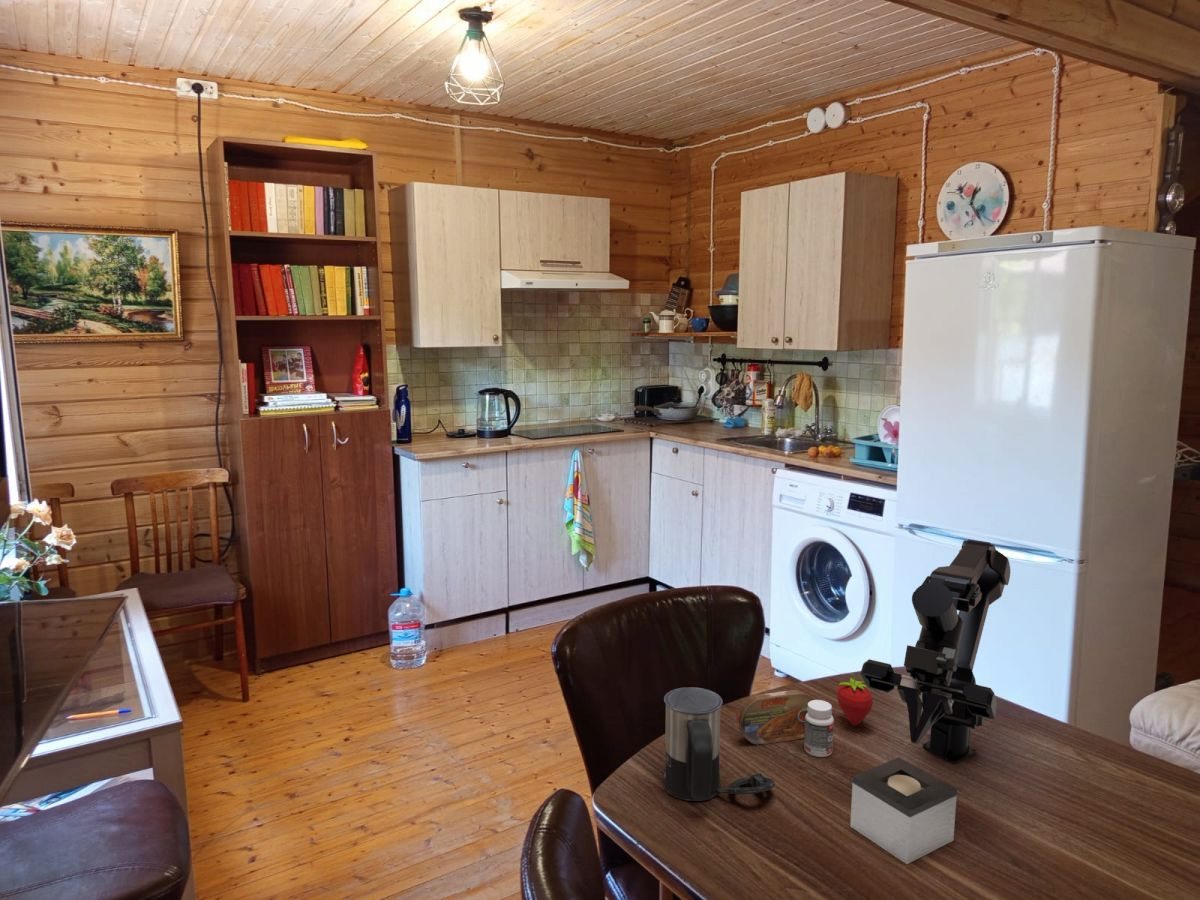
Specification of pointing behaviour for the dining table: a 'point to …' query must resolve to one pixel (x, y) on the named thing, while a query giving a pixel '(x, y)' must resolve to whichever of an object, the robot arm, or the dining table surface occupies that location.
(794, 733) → the tin
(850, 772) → the dining table surface
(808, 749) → the pill bottle
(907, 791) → the peg
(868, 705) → the strawberry
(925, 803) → the collar
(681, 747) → the milk frother
